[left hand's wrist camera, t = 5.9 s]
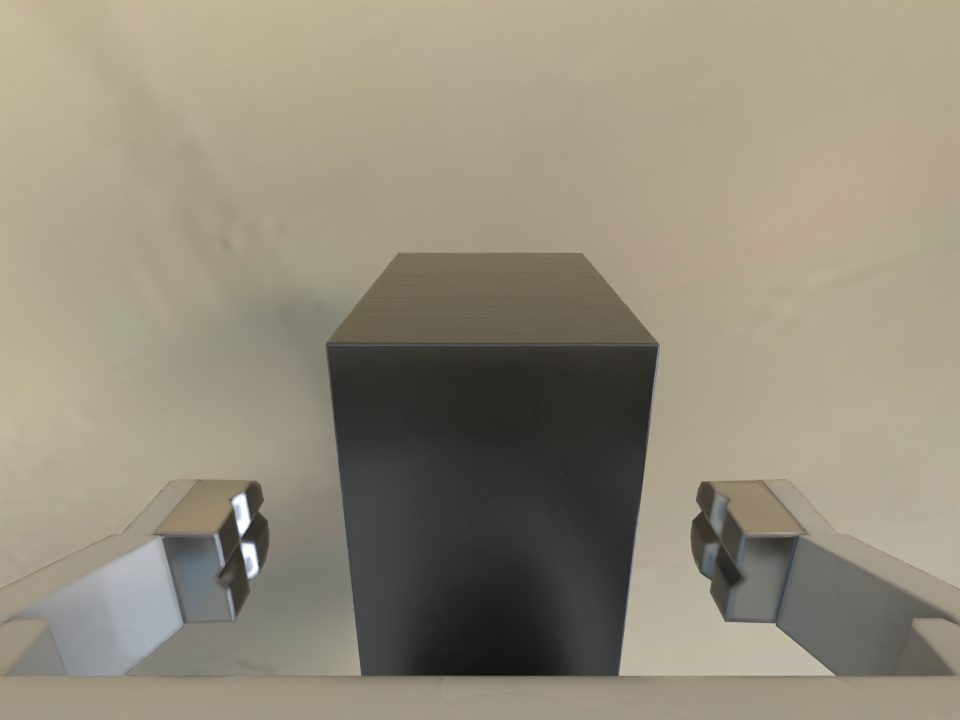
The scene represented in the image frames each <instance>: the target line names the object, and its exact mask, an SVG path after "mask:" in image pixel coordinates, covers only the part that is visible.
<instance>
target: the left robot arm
mask: <svg viewBox="0 0 960 720" xmlns="http://www.w3.org/2000/svg"><path fill="white" fill-rule="evenodd" d="M263 501H264V498H263V493H262V489H261V485H260V484H259V483H258V482H257V481H247V480H200V479H186V480H174V481H170V482H169V483H168V484H167V485H166V486H165V487H164V488H163V489H162V490H161V491H160V492H159V494H158V495H157V496H156V497H155V498H154V499H153V500H152V501H151V502H150V503H149V504H148V505H147V507H146V508H145V509H144V510H143V511H142V512H141V513H140V514H139V515H138V516H137V517H136V519H135V520H134V521H133V522H132V523H131V524H130V525H129V526H128V527H127V528H126V529H125V531H124V532H123V533H122V534H121V535H110V536H108V537H106V538H104V539H102V540H100V541H98V542H96V543H94V544H92V545H90V546H88V547H86V548H84V549H82V550H80V551H77V552H75V553H73V554H71V555H69V556H67V557H65V558H63V559H61V560H59V561H57V562H55V563H53V564H51V565H49V566H47V567H44V568H42V569H40V570H38V571H36V572H34V573H32V574H30V575H28V576H26V577H24V578H22V579H20V580H18V581H16V582H14V583H12V584H9V585H7V586H5V587H3V588H1V589H0V720H960V589H958V588H956V587H954V586H952V585H950V584H948V583H946V582H944V581H942V580H940V579H938V578H936V577H934V576H932V575H930V574H928V573H926V572H924V571H921V570H919V569H917V568H915V567H913V566H911V565H909V564H907V563H905V562H903V561H901V560H899V559H897V558H895V557H893V556H891V555H889V554H887V553H884V552H882V551H880V550H878V549H876V548H874V547H872V546H870V545H868V544H866V543H864V542H862V541H860V540H858V539H856V538H854V537H852V536H850V535H839V534H838V533H837V532H836V531H835V529H834V528H833V527H832V526H831V525H830V524H829V523H828V522H827V521H826V520H825V519H824V517H823V516H822V515H821V514H820V513H819V512H818V511H817V510H816V509H815V508H814V507H813V505H812V504H811V503H810V502H809V501H808V500H807V499H806V498H805V497H804V496H803V495H802V493H801V492H800V491H799V490H798V489H797V488H796V487H795V486H794V485H793V484H792V483H791V482H790V481H787V480H785V479H772V480H754V481H702V482H701V484H700V486H699V488H698V492H697V498H696V501H697V503H698V505H699V507H700V508H701V510H702V512H701V513H700V514H699V515H698V516H697V517H696V518H695V519H694V520H693V521H692V528H691V548H692V554H693V557H694V560H695V563H696V565H697V567H698V569H699V571H700V573H701V574H703V575H704V576H705V577H707V578H708V579H710V580H711V581H712V582H711V588H710V593H711V595H712V597H713V599H714V601H715V603H716V605H717V607H718V609H719V611H720V612H721V614H722V616H723V618H724V620H725V622H752V623H776V626H777V627H778V628H779V629H781V630H782V631H783V632H784V633H785V634H787V635H788V636H789V637H790V638H791V639H793V640H794V641H795V642H796V643H798V644H799V645H800V646H801V647H802V648H804V649H805V650H806V651H807V652H808V653H810V654H811V655H812V656H813V657H814V658H816V659H817V660H818V661H819V662H821V663H822V664H823V665H824V666H825V667H827V668H828V669H829V670H830V671H831V672H833V673H834V674H835V675H836V676H124V675H125V674H126V673H128V672H129V671H130V670H131V669H132V668H134V667H135V666H136V665H137V664H138V663H140V662H141V661H142V660H143V659H144V658H146V657H147V656H148V655H149V654H151V653H152V652H153V651H154V650H155V649H157V648H158V647H159V646H160V645H161V644H163V643H164V642H165V641H166V640H168V639H169V638H170V637H171V636H172V635H174V634H175V633H176V632H177V631H178V630H180V629H181V628H182V627H183V626H184V623H207V622H235V620H236V618H237V616H238V614H239V613H240V611H241V609H242V607H243V605H244V603H245V601H246V599H247V597H248V595H249V593H250V588H249V583H248V581H249V580H250V579H252V578H253V577H255V576H256V575H257V574H259V573H260V571H261V569H262V567H263V565H264V563H265V561H266V557H267V552H268V548H269V527H268V521H267V520H266V519H265V518H264V517H263V516H262V515H261V514H260V513H259V512H258V510H259V508H260V507H261V505H262V503H263Z"/></svg>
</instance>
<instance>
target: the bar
mask: <svg viewBox="0 0 960 720" xmlns="http://www.w3.org/2000/svg"><path fill="white" fill-rule="evenodd" d="M659 348H660V345H659V343H658V342H657V341H656V340H655V339H654V337H653V336H652V335H651V334H650V333H649V331H648V330H647V329H646V328H645V327H644V326H643V324H642V323H641V322H640V321H639V320H638V318H637V317H636V316H635V315H634V314H633V313H632V311H631V310H630V309H629V308H628V307H627V305H626V304H625V303H624V302H623V301H622V300H621V298H620V297H619V296H618V295H617V294H616V293H615V291H614V290H613V289H612V288H611V287H610V285H609V284H608V283H607V282H606V281H605V280H604V278H603V277H602V276H601V275H600V274H599V272H598V271H597V270H596V269H595V268H594V267H593V265H592V264H591V263H590V262H589V261H588V259H587V258H586V257H585V256H584V255H583V254H582V253H398V254H397V255H396V256H395V258H394V259H393V260H392V261H391V263H390V264H389V265H388V266H387V268H386V269H385V270H384V271H383V273H382V274H381V275H380V276H379V278H378V279H377V280H376V281H375V283H374V284H373V285H372V286H371V288H370V289H369V290H368V291H367V293H366V294H365V295H364V296H363V298H362V299H361V300H360V301H359V303H358V304H357V305H356V306H355V308H354V309H353V310H352V311H351V313H350V314H349V315H348V316H347V318H346V319H345V320H344V321H343V323H342V324H341V325H340V326H339V328H338V329H337V330H336V331H335V333H334V334H333V335H332V336H331V338H330V339H329V340H328V341H327V343H326V353H327V362H328V371H329V380H330V390H331V399H332V408H333V417H334V427H335V436H336V445H337V454H338V464H339V473H340V482H341V491H342V500H343V510H344V519H345V528H346V537H347V547H348V556H349V565H350V574H351V584H352V593H353V602H354V611H355V621H356V630H357V639H358V648H359V657H360V667H361V676H619V669H620V661H621V653H622V645H623V637H624V629H625V621H626V613H627V605H628V597H629V589H630V581H631V573H632V565H633V557H634V549H635V541H636V533H637V525H638V517H639V509H640V501H641V493H642V485H643V477H644V469H645V461H646V453H647V445H648V437H649V428H650V420H651V412H652V404H653V396H654V388H655V380H656V372H657V364H658V356H659Z"/></svg>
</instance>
